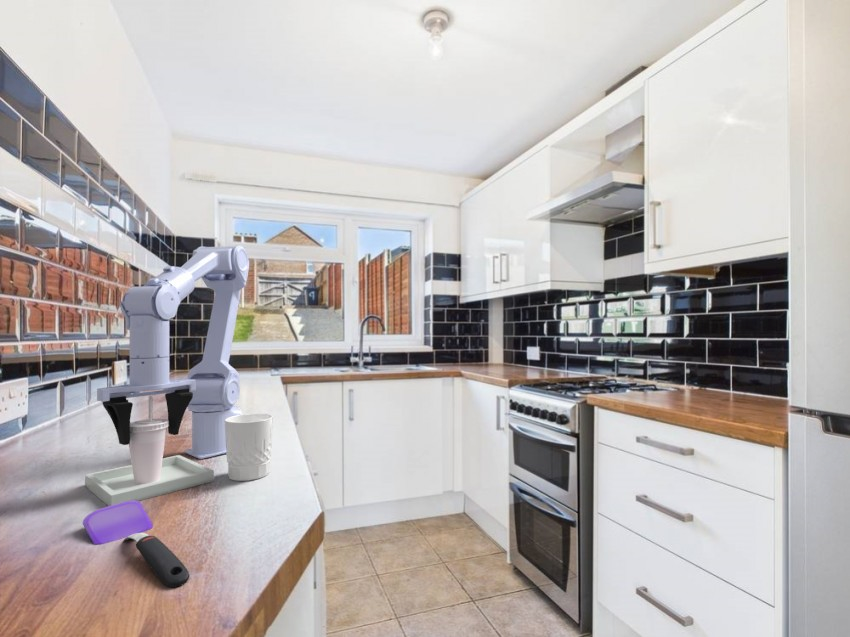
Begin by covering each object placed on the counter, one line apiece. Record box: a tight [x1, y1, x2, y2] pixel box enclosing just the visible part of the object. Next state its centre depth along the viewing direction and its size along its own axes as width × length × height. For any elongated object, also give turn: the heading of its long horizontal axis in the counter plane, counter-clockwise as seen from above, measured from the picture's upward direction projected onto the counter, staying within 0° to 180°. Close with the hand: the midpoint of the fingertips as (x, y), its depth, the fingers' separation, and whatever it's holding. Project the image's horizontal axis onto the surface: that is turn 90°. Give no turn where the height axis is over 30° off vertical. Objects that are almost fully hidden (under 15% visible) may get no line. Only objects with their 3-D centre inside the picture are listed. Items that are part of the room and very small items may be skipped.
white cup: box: [225, 413, 274, 482], centre depth 79 cm, size 8×8×10 cm
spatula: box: [82, 500, 190, 588], centre depth 53 cm, size 24×7×2 cm, turn 49°
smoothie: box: [128, 395, 169, 484], centre depth 75 cm, size 6×6×14 cm
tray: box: [84, 454, 215, 507], centre depth 75 cm, size 15×15×2 cm
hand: (149, 438), depth 75 cm, fingers open, 7 cm apart
